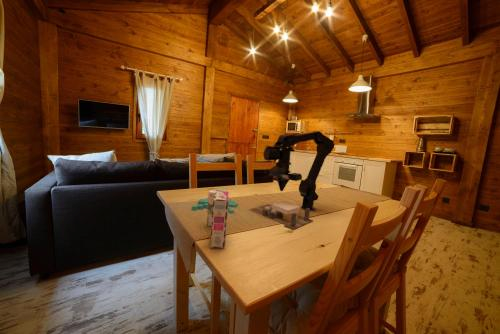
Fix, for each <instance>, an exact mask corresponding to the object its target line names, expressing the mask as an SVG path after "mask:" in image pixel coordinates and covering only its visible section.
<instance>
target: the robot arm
mask: <svg viewBox="0 0 500 334" xmlns="http://www.w3.org/2000/svg"><path fill="white" fill-rule="evenodd" d="M308 141H313V142H314V144H315V145H316V155H315V157H314V159H313V162H312V164H311V167H310V170H309V172H308V175H307V176H306V178H305V179H303V176H302V173H299V172H291V170H290V166H291V165H292V162H291V153H292V152H295V149H294V148H293V146H295V145H297V144H299V143H303V142H308ZM334 142H335V141H334V140H332V139H330V138H329V137H328V136H326V135H325V134H324V133H322V132H321V131H317V130H315V131H314V130H313V131H309V132H303V133H299V134H280V135H279V136H278V138H277V140H276V142H275V143H274V144H273V146H271V145H266V146H265V149H264V152H263V154H262V155H263V159H264V161H276V163H275V165H274V166H273V167H270V168H267V169H266V170H265V171H264V174H265V175H267V176H271V177H273V178H274V179H275V180H276V181H277V184H278V188H279V191H280V192H283V191H284V189H285V188H286V186H287V185H288V183H289V182H290V181H293V182H294V181H295V182H297V181H300V183H299V185H298V191H299V195H300V196H301V197H302V206H301V207H300V209H302V210H305V209H307V208H310V212H311V211H315V210H316V208H315V207H314V204H315V202H316V201H318V199H319V194H318V193H317V192H316V189H317V183H316V182H317V179H318V177H319V175H320V172H321V169H322V167H323V165H324V163H325V160H326V158H327V157H328V156H329V155H330V154H331V153H332V151H333V150H334V148H335V143H334Z"/></svg>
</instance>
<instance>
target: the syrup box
mask: <svg viewBox="0 0 500 334" xmlns="http://www.w3.org/2000/svg"><path fill="white" fill-rule="evenodd" d="M216 191H218V192H228V191H227V190H224V189H220V188H212V189H210V190H209V191H208V193H207V197H208V209H207V212H206V213H207V216H206V226H207V227H210V228H212V214H213V199H214V196H215V193H216Z"/></svg>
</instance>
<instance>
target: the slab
mask: <svg viewBox="0 0 500 334" xmlns="http://www.w3.org/2000/svg"><path fill="white" fill-rule="evenodd" d="M271 205H272V209H274V210H277V211H279V212H282V213H284V214H287V215H288V214H291V213H294V212H300V211H301V207H302V206H301V205H297V204H294V203H292V202H289V201H286V200H284V201H279V202H276V203H272V204H271Z"/></svg>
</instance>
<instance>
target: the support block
mask: <svg viewBox="0 0 500 334" xmlns="http://www.w3.org/2000/svg"><path fill="white" fill-rule="evenodd" d="M299 212H300V211H297V212H294V213H297V216H296V220H298V215H299V214H300V213H299ZM291 215H292V213H291V214H288V215H287V214H284V213H283V219H285V220H288V221H291Z"/></svg>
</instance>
